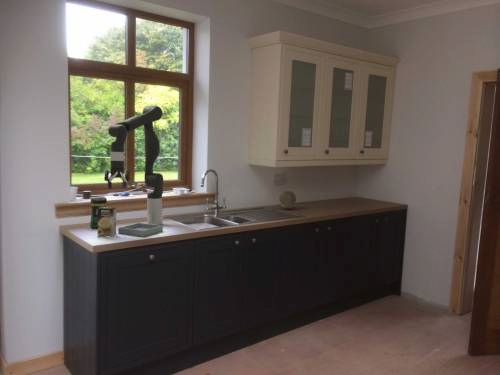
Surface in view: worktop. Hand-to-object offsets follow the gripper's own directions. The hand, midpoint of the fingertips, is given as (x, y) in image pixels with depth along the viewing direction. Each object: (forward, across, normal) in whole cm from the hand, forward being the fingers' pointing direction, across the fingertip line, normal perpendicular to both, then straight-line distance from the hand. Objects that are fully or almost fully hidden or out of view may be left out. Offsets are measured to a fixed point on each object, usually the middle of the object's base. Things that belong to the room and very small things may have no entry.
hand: (116, 188), depth 246 cm
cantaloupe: (+21, -155, -2) cm, 157 cm away
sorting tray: (+26, -13, +6) cm, 29 cm away
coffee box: (+27, +6, +1) cm, 27 cm away
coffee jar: (+26, -1, -23) cm, 35 cm away
